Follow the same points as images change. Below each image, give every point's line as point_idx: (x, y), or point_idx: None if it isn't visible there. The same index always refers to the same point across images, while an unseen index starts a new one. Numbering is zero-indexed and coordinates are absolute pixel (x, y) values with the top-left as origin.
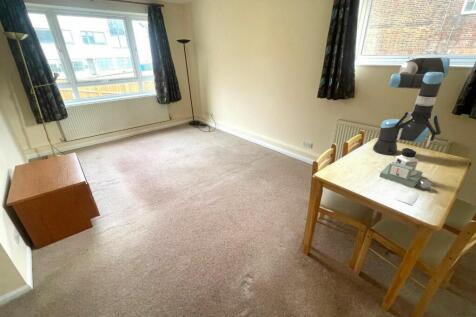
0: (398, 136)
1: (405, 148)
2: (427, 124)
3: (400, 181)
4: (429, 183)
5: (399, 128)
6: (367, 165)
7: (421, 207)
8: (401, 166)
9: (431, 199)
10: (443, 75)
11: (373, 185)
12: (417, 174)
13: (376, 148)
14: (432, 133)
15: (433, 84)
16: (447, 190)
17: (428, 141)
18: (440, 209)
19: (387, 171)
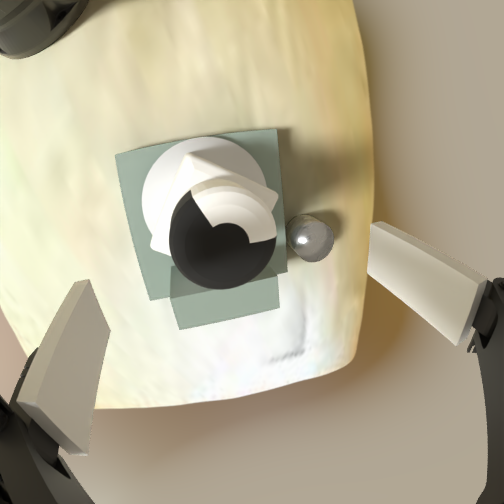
0: (95, 363)
1: (188, 246)
2: (502, 470)
3: None
4: (329, 244)
5: (61, 460)
6: (57, 232)
7: (322, 340)
8: (231, 314)
9: (335, 284)
10: None
11: (181, 354)
12: (268, 180)
13: (4, 53)
14: (481, 346)
15: None
16: (360, 183)
17: (406, 297)
18: (356, 310)
19: (161, 267)
